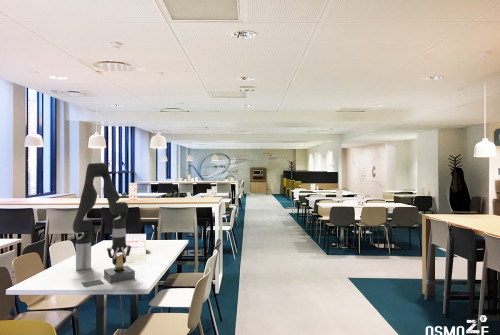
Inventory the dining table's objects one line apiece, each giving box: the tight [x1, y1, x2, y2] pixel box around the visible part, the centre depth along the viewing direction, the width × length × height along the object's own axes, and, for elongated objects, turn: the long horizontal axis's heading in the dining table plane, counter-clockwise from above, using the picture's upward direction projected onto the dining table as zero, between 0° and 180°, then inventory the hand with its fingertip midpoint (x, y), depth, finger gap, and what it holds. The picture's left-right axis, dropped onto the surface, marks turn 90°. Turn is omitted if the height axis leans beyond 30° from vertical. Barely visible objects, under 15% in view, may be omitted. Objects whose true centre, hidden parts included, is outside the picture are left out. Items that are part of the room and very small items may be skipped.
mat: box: [81, 278, 105, 288], centre depth 204 cm, size 10×10×1 cm
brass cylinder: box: [114, 253, 125, 272], centre depth 214 cm, size 5×5×11 cm
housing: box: [103, 265, 136, 284], centre depth 214 cm, size 14×14×5 cm
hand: (119, 263), depth 214 cm, fingers closed on brass cylinder, 5 cm apart
